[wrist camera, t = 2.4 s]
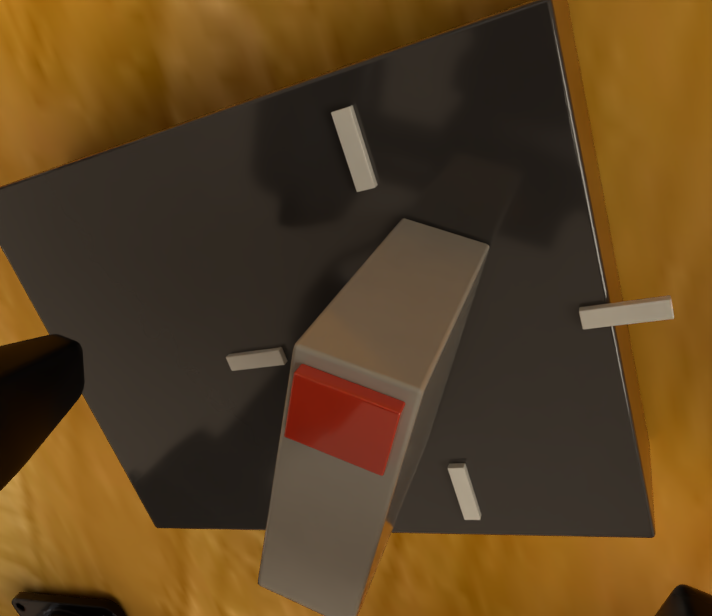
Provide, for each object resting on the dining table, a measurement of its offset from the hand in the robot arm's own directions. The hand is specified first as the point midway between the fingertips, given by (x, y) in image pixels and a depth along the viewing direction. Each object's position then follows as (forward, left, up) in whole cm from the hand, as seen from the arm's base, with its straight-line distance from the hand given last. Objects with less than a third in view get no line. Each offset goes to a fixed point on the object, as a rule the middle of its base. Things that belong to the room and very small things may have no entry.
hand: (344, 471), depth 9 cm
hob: (-3, 0, -7) cm, 7 cm away
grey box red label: (0, 0, -4) cm, 4 cm away
